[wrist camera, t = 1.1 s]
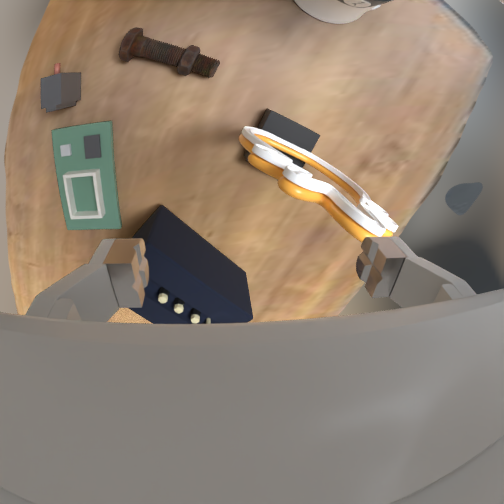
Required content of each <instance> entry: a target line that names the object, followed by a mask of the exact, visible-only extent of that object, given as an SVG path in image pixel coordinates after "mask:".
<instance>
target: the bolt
mask: <svg viewBox="0 0 504 504" xmlns="http://www.w3.org/2000/svg"><path fill="white" fill-rule="evenodd" d="M133 56H138V57H145V58H148V59H152V60H156V61H157V60H158V61H160V62H164V63H166V64H167V63H168V64H170V65H171V64H172V65H174V66H175V65H176V67H177V66H178V69H177V71H178V73H179V74H182V75H188V74H189V73H190V72H191V71H192V72H196V73H198V74H202V75H205V76H207V77H213V76H214V74H215V72H216V70H217V68H218V66H219V64H220V62H219V60H218V61H217V59H216V60H215V59H213V58H211V57H210V58H209V56H208V57H207V56H205V55H201V54H200V48H199V47H197V46H194V45H191V46H189V47H188V48H187V49H184V48H183V49H182V48H180V47H178V46H177V47H176V46H174V45H172V44H171V45H170V44H168V43H167V44H166V43H164V42H163V43H162V42H160V41H156V40H154V39H153V40H152V39H150V38H148V37H144V36H143V29H142V28H133V29H131V30H130V31H129V32H128V33H127V34H126V36H125V37H124V39H123V41H122V43H121V47H120V51H119V57H120V59H121V60H123V61H127V62H128V61H129V60H130V59H131V58H132V57H133Z"/></svg>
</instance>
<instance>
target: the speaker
mask: <svg viewBox="0 0 504 504" xmlns="http://www.w3.org/2000/svg"><path fill="white" fill-rule="evenodd" d="M131 239H143V240H144V243H145V248H146V250H145V253H144V257H145V258H146V259H147V260H148V266H149V280H148V285H147V286H146V287H145V288H144V292H145V297H144V301H143V305H142V308H129V309H131V310H132V311H134V312H135V313H137V314H139V315H140V316H142V317H143V318H145V319H147V320H148V321H150V322H152V323H153V324H220V323H247V322H249V321H250V320H252V319H253V314H252V308H251V302H250V296H249V289H248V283H247V277H246V272H245V271H243V270H242V269H241V268H240V267H238V266H237V265H236V264H235V263H233V262H232V261H231V260H229V259H228V258H227V257H226V256H224V255H223V254H222V253H221V252H220V251H218V250H217V249H216V248H215V247H213V246H212V245H211V244H210V243H208V242H207V241H206V240H205V239H203V238H202V237H201V236H200V235H198V234H197V233H196V232H195V231H193V230H192V229H191V228H190V227H189V226H187V225H186V224H185V223H184V222H182V221H181V220H180V219H179V218H178V217H176V216H175V215H174V214H173V213H171V212H170V211H169V210H168V209H167V208H165V207H164V206H163V205H160V207H159V208H158V209H157V210H156V211H155V212H154V213H153V214H152V215H151V217H150V218H149V219H148V220H147V221H146V222H145V223H144V224H143V226H142V227H141V228H140V229H139V230H138V231H137V233H136V234H135V235H134V236H133V237H132V238H131Z"/></svg>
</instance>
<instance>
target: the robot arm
mask: <svg viewBox="0 0 504 504" xmlns="http://www.w3.org/2000/svg"><path fill="white" fill-rule="evenodd" d="M294 1H295V2H296V4H297V5H298V6H299V7H300V8H301V9H302V10H304V11H305V12H306V13H308V14H309V15H311V16H313V17H315V18H317V19H319V20H321V21H324V22H328V23H334V24H345V23H350V22H353V21H355V20H357V19H358V18H360V17H361V16H362V15H363V14H364V13H366V12H367V11H370V10H374V9H377V8H378V7H380V5H381V4H384V3H386V2H389V1H393V0H294ZM499 1H500V2H502V3H503V4H504V0H499ZM361 248H362V250H363V252H362V253H361V254H360V255H359V256H358V259H357V262H356V271H357V274H358V276H359V278H360V279H361V280H362V281H364V282H365V283H366V284H365V288H366V289H367V291H368V292H369V294H370V296H371V297H372V298H376V297H390V298H391V299H392V300H393V301H395V302H396V303H397V304H398V305H400V306H401V307H402V308H399V309H392V310H384V311H377V312H369V313H361V314H353V315H343V316H333V317H323V318H311V319H299V320H285V321H268V322H249V323H220V324H141V323H113V322H107V321H108V320H109V319H110V318H111V317H112V316H113V315H114V314H115V313H116V312H117V310H118V309H119V308H142V305H143V301H144V297H145V292H144V288H145V287H146V286H147V285H148V280H149V266H148V260H147V259H146V258H145V257H144V253H145V250H146V248H145V243H144V240H143V239H116V238H114V239H103V240H102V241H101V243H100V244H99V246H98V248H97V249H96V251H95V253H94V255H93V256H92V258H91V260H90V262H89V264H84V265H82V266H81V267H79V268H78V269H76V270H74V271H73V272H71V273H70V274H68V275H67V276H65V277H63V278H62V279H60V280H59V281H57V282H56V283H54V284H53V285H51V286H50V287H48V288H47V289H45V290H44V291H42V292H41V293H40V294H38V295H37V296H36V297H35V299H34V300H33V302H32V304H31V306H30V307H29V309H28V311H27V313H26V315H18V314H10V313H3V312H0V504H504V289H500V290H496V291H492V292H487V293H483V294H478V295H477V294H476V293H475V292H474V291H473V290H472V289H471V288H470V286H469V285H468V284H467V283H466V282H465V281H464V280H462V279H461V278H459V277H457V276H455V275H453V274H451V273H449V272H448V271H446V270H444V269H442V268H440V267H438V266H436V265H435V264H433V263H431V262H429V261H427V260H425V259H423V258H421V257H417V256H416V255H415V254H414V252H413V251H412V250H411V249H410V248H408V246H407V245H406V244H405V243H404V242H403V241H402V240H401V239H400V238H399V237H397V236H387V237H365V238H364V240H363V241H362V245H361Z"/></svg>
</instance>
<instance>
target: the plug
mask: <svg viewBox="0 0 504 504" xmlns="http://www.w3.org/2000/svg"><path fill="white" fill-rule="evenodd" d="M78 100H81V73H60V63H57V64H55V65H54V75H52V76H48V77H45V78H41V109H43V108H46V113H47V112H51V111H55V110H59V109H63V108H67V107H71V106H75V105H76V101H78Z"/></svg>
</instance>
